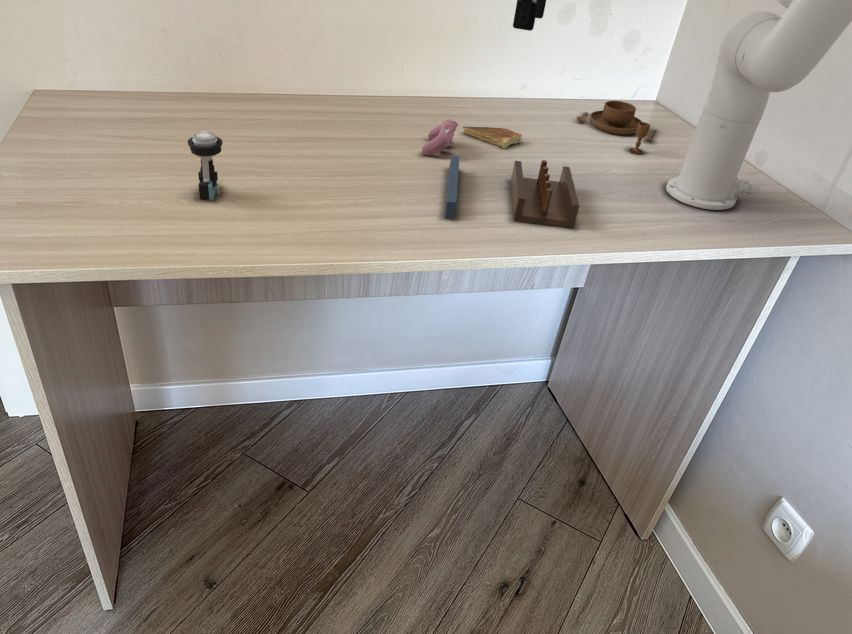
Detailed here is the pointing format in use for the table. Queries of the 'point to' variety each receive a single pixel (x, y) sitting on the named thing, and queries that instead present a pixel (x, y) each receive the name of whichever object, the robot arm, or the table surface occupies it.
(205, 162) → the push button
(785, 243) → the table surface
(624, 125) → the place setting
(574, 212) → the rack
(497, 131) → the golden brown flat wedge
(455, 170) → the bar
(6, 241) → the table surface
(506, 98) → the table surface
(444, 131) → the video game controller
